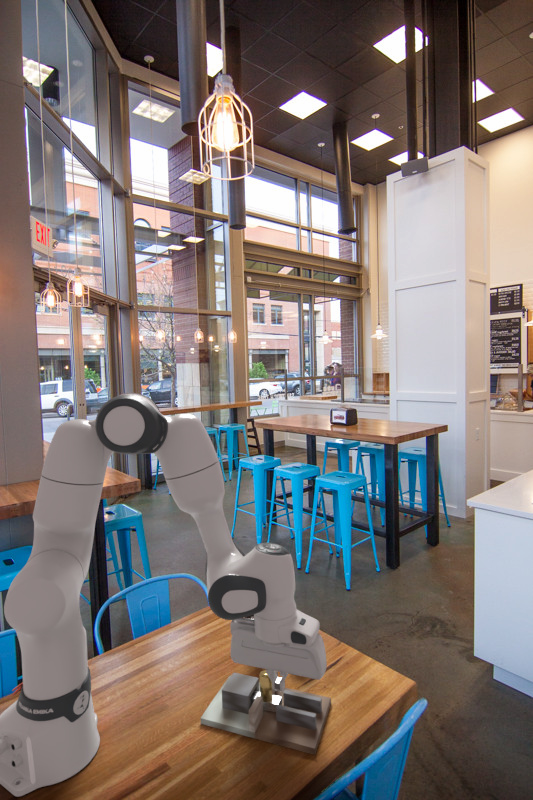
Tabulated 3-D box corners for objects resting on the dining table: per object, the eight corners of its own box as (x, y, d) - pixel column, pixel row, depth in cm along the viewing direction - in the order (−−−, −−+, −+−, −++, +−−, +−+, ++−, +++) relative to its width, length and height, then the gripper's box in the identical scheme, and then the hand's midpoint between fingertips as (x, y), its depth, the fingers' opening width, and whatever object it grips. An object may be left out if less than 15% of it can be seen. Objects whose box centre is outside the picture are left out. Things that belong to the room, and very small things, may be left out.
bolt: (282, 705, 92) (281, 673, 92) (278, 713, 90) (277, 681, 89) (230, 692, 96) (229, 662, 96) (225, 700, 94) (224, 669, 94)
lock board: (331, 703, 94) (330, 679, 94) (315, 754, 81) (314, 727, 81) (229, 680, 103) (229, 658, 102) (200, 723, 89) (199, 698, 89)
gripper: (223, 623, 91) (226, 688, 91) (319, 639, 84) (322, 710, 84) (236, 608, 97) (239, 669, 97) (327, 622, 90) (329, 688, 90)
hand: (278, 688), depth 91 cm, fingers closed
